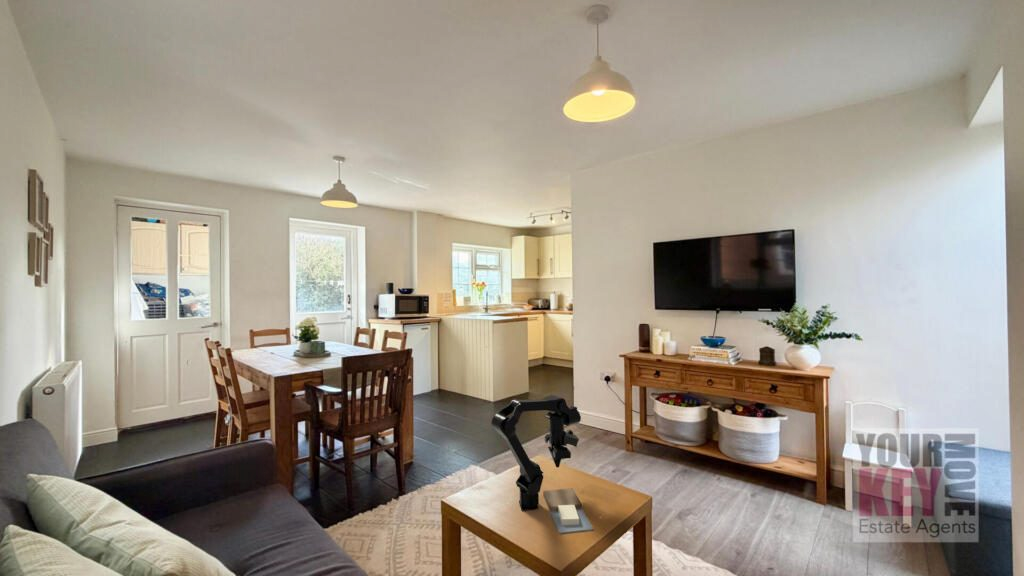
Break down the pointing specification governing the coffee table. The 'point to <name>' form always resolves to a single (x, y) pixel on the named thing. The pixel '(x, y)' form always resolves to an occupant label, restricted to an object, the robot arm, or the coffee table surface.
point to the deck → (561, 498)
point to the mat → (582, 526)
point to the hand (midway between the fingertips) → (557, 467)
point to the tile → (568, 514)
